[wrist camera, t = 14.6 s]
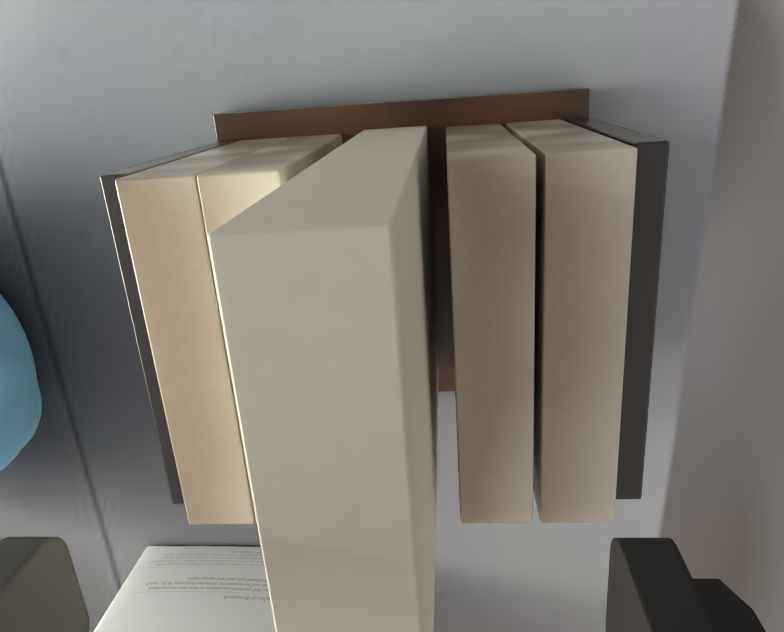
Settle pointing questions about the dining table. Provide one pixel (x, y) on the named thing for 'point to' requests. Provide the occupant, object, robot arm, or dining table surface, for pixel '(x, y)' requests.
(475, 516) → the white book stand
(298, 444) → the white book
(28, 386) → the teapot
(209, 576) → the rectangular carton
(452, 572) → the dining table surface
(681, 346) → the dining table surface
